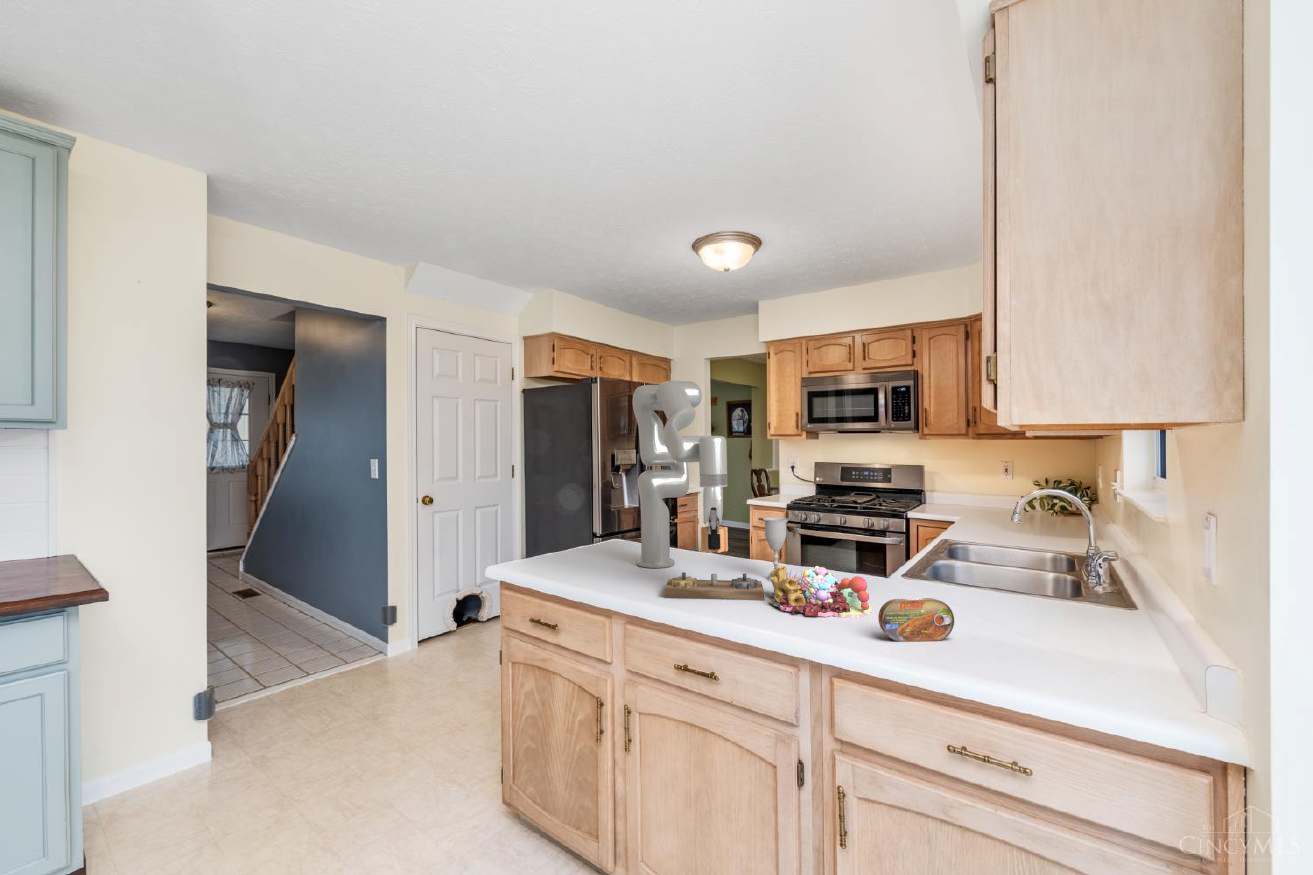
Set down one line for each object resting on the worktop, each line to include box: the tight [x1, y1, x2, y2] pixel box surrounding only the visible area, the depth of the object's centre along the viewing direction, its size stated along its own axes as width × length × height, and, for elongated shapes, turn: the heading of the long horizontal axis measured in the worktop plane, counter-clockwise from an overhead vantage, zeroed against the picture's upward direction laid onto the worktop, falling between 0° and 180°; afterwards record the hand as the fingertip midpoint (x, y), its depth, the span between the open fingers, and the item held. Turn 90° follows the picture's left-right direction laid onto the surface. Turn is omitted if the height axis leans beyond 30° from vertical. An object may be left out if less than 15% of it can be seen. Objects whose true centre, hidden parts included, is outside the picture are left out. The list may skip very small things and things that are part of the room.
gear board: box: [663, 572, 765, 601], centre depth 155 cm, size 12×26×5 cm, turn 83°
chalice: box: [762, 516, 789, 582], centre depth 168 cm, size 7×7×18 cm
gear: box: [700, 525, 729, 554], centre depth 154 cm, size 7×7×6 cm
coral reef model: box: [769, 565, 874, 619], centre depth 144 cm, size 25×24×9 cm
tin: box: [877, 597, 955, 643], centre depth 118 cm, size 15×3×8 cm, turn 91°
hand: (714, 546), depth 154 cm, fingers closed on gear, 7 cm apart
